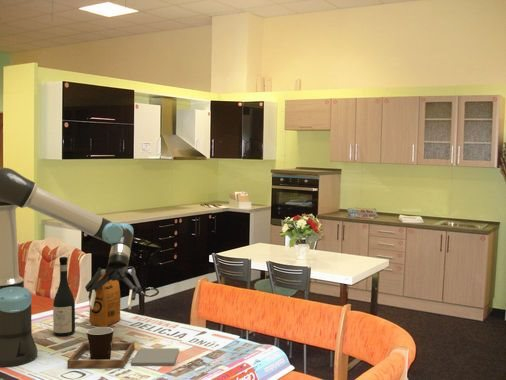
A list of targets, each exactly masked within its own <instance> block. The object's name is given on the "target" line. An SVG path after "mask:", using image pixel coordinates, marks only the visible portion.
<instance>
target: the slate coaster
mask: <svg viewBox="0 0 506 380" xmlns="http://www.w3.org/2000/svg"><path fill="white" fill-rule="evenodd" d="M179 351H180V348H179V347H177V348H175V347H173V348H170V347H169V348H162V347H161V348H159V347H158V348H155V347H154V348H152V347H151V348H138V350H137V351H136V354H135V355H134V356H133V359H132V360H131V363H130V366H131V367H136V366H137V367H139V366H140V367H142V366H143V367H144V366H145V367H147V366H148V367H150V366H151V367H154V366H159V367H161V366H165V367H167V366H175V365H176V361H177V358H178V355H179Z"/></svg>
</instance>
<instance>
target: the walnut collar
mask: <svg viewBox="0 0 506 380" xmlns="http://www.w3.org/2000/svg"><path fill="white" fill-rule="evenodd" d="M135 346H136V345H135V342H112V349H111V352H112V351H125V353H124V354H123V355H122V357H121V359H120V358H119V359H118V358H117V359H116V358H115V359H111V358H110V359H104V360H91V359H80V358H81V357H82V355H84V353H85V352H87V351H89V344H88V342H83V343H82V344H81V345H80V346H79V347H78V349H76V350H75V351H74V353H73V354H72V355H71V356H70V357H69V358H68V359H67V361H66V362H67V364H66V365H67V366H66V367H67V369H125V366H126V364H127V363H128V361H129V359H131V356H132V354H133V353H134V351H135V350H136V349H135V348H136V347H135Z"/></svg>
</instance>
